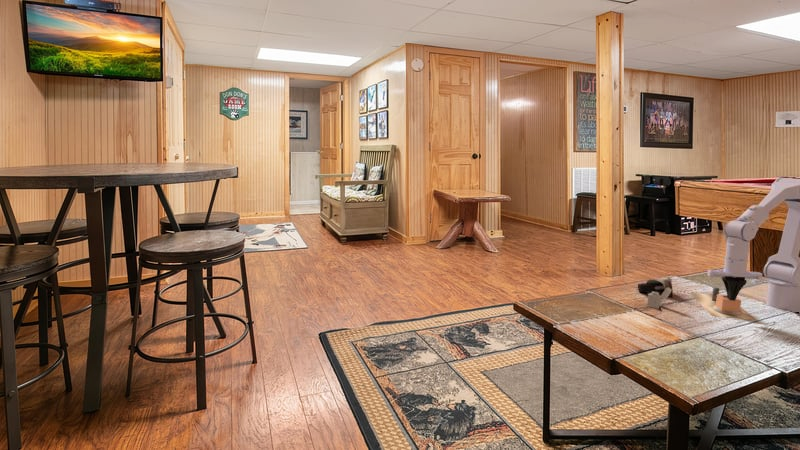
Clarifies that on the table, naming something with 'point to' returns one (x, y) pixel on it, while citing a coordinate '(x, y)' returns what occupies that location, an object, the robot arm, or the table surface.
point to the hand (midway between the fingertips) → (731, 299)
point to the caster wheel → (656, 286)
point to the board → (710, 306)
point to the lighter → (657, 298)
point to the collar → (728, 303)
